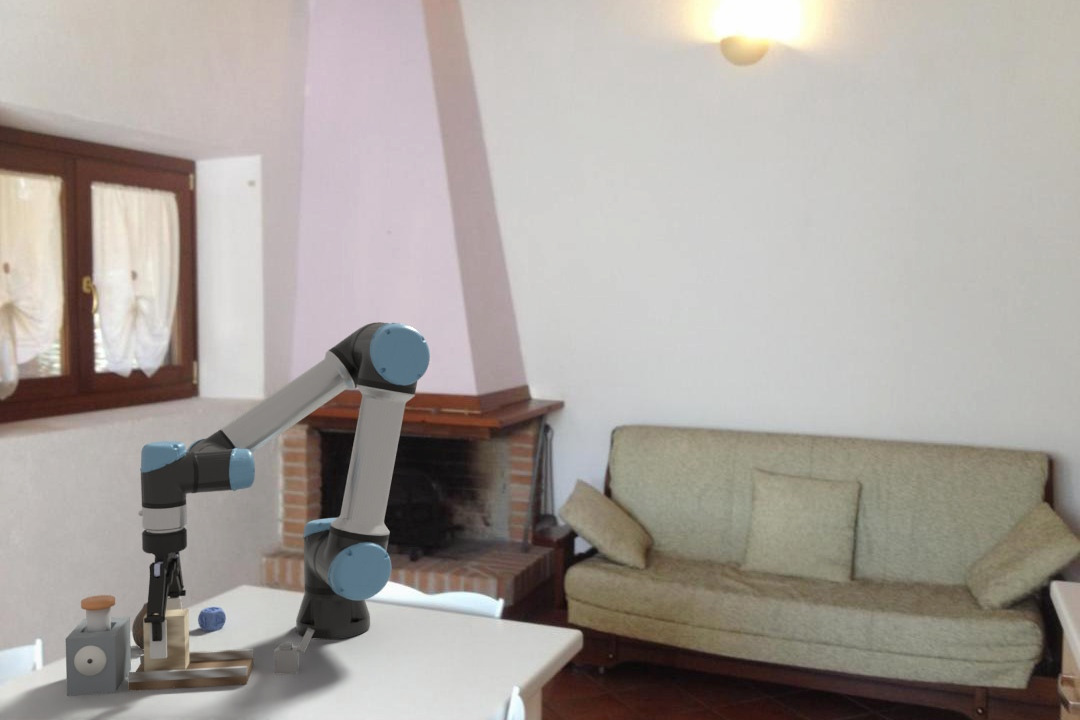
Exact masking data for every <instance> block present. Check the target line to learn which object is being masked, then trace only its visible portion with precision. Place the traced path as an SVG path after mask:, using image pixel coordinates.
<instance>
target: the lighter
mask: <svg viewBox="0 0 1080 720" xmlns="http://www.w3.org/2000/svg"><path fill="white" fill-rule="evenodd" d="M314 631H315V630H313V629H311V628H308V629H307V631H306V633H305V635H304V636H302V637H303V638H302V639H301V642H300V644H299V646H297V647H295V646H293V642H282V643H281V644H279V645H278V647H276V648H275V649H274V674H276V675H279V674H281V675H282V674H285V675H286V674H298V673H299V670H300V668H299V667H300V665H299V664H300V662H299V661H300V658H299V656H300V655H299V653H300V652H301V653H303V654H304V653H305V651H306V649H307V648H308V645H309V643H310V642H311V639H312V638H311V637H312V635H313V633H314Z"/></svg>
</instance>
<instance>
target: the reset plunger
mask: <svg viewBox="0 0 1080 720" xmlns="http://www.w3.org/2000/svg"><path fill="white" fill-rule="evenodd" d="M115 605H116V596H113V595H111V594H110V595H109V594H103V595H102V594H99V595H93V596H88V597H85V598H83V599H81V600H80V608H81V609H82V610H85V617H86V618H85V619H86V627H87V632H103V631H111V618H112V616H111V614H112V612H111V611H112V610H111V609H112V607H114V606H115Z"/></svg>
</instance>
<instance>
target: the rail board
mask: <svg viewBox="0 0 1080 720" xmlns="http://www.w3.org/2000/svg"><path fill="white" fill-rule="evenodd" d="M139 658H140V659H139V660H140V663H139V665H138V667H137V669H136V670H135V671H130V672H129V674H128V675H127V676H128V682H127V683H128V685H127V686H128V691H129V692H132V691H134V692H135V691H150V690H153V691H154V690H169V689H185V688H187V689H188V688H202V687H203V688H204V687H219V686H220V687H221V686H223V687H224V686H237V685H239V686H240V685H247V684H248V681H249V679H250V676H251V673H252V670H253V667H254V648H242V649H239V648H238V649H225V650H223V649H222V650H202V651H199V650H198V651H189V664H188V666H187V668H186V669H180V670H162V671H144V653H143V654H140V656H139Z"/></svg>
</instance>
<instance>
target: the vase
mask: <svg viewBox="0 0 1080 720" xmlns="http://www.w3.org/2000/svg"><path fill="white" fill-rule="evenodd" d="M147 605H148V601H147V602H145V603H144V604H143V607H142V608H141V610H139V612H138V613H137V614H136V616H135V618H134V620H133V624H132V628H131V630H132V631H131V632H132V638H133V641H134V644H135V645H136V646H137V647H138V649H140V650H143V651H144V630H143V617H144V616H145V615H146V613H147Z"/></svg>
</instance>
